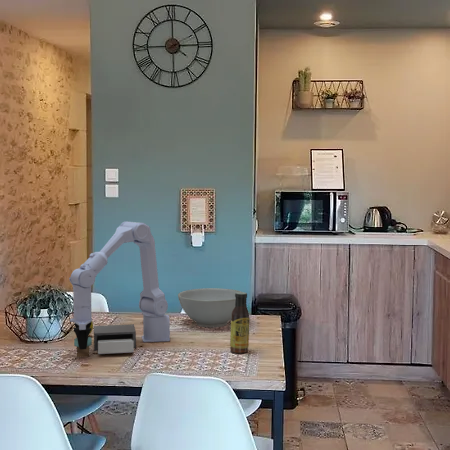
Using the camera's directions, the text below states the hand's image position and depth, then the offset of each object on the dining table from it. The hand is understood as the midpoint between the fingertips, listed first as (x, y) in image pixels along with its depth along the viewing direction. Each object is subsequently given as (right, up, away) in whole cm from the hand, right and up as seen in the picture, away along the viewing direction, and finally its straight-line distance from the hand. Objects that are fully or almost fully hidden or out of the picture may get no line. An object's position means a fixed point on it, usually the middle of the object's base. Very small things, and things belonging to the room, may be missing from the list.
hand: (83, 346), depth 212 cm
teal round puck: (0, +1, 0) cm, 1 cm away
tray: (+10, -1, +3) cm, 11 cm away
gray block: (+8, -2, +13) cm, 15 cm away
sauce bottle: (+51, -3, +6) cm, 52 cm away
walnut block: (0, -3, 0) cm, 3 cm away
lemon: (-4, -1, +25) cm, 25 cm away
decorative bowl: (+41, 0, +45) cm, 61 cm away
